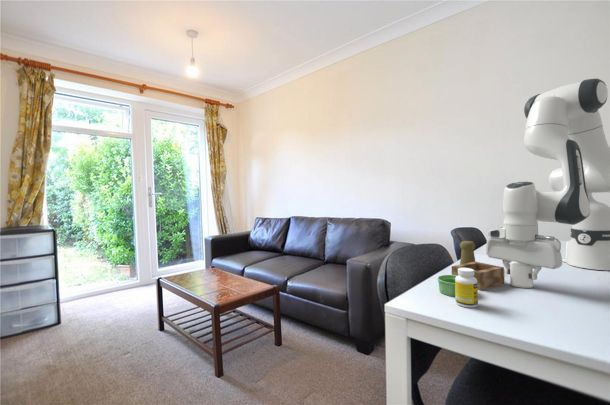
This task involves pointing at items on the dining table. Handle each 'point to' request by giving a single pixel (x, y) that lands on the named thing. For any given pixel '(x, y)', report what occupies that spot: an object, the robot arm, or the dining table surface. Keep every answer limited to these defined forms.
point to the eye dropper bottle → (520, 275)
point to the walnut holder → (483, 274)
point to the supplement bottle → (466, 288)
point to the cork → (467, 252)
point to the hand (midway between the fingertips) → (521, 276)
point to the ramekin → (447, 284)
